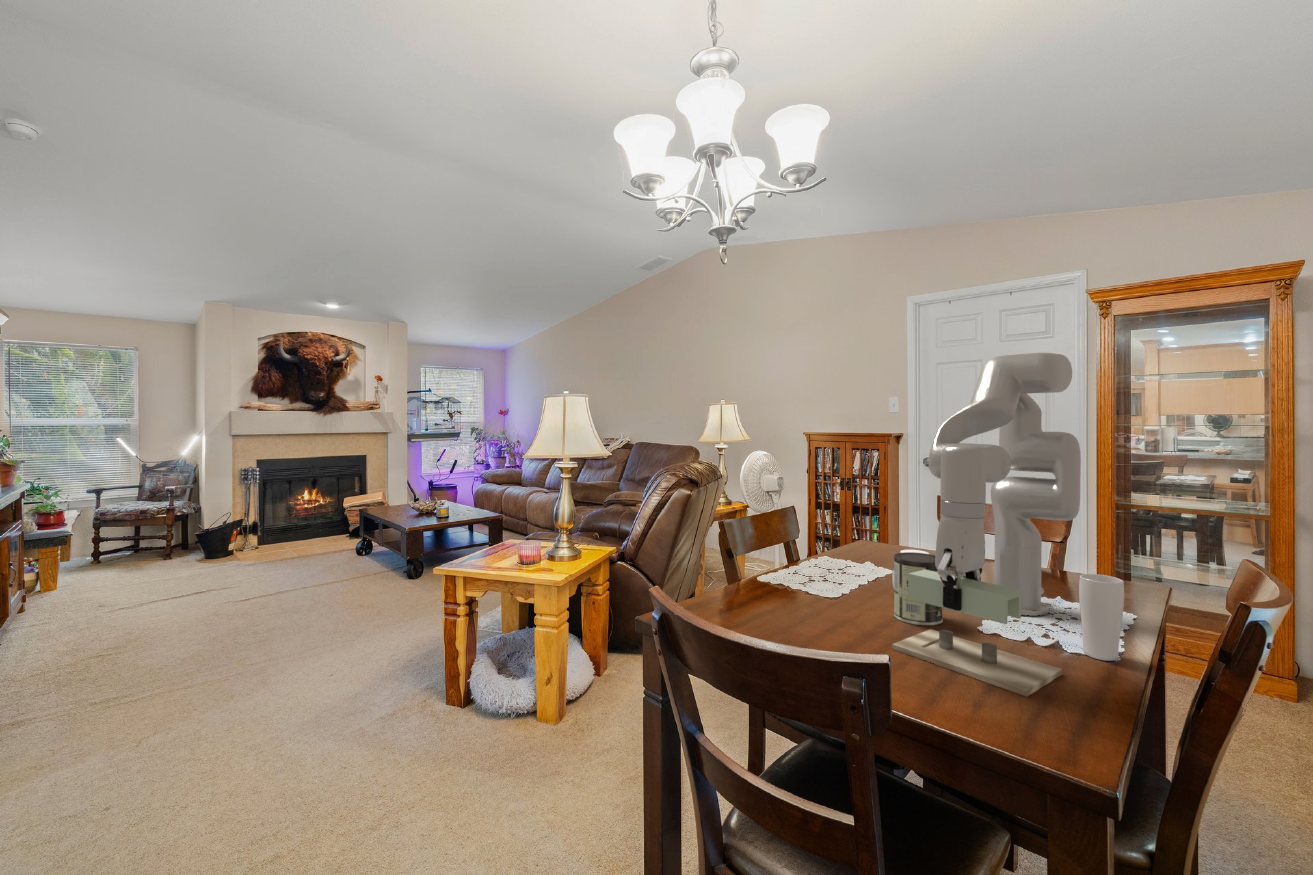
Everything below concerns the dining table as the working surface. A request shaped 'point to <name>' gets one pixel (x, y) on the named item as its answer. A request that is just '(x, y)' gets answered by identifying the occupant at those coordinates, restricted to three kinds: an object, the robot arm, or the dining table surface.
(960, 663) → the board
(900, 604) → the coffee can
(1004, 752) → the dining table surface
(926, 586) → the long sage green beam
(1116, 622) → the drinking glass
